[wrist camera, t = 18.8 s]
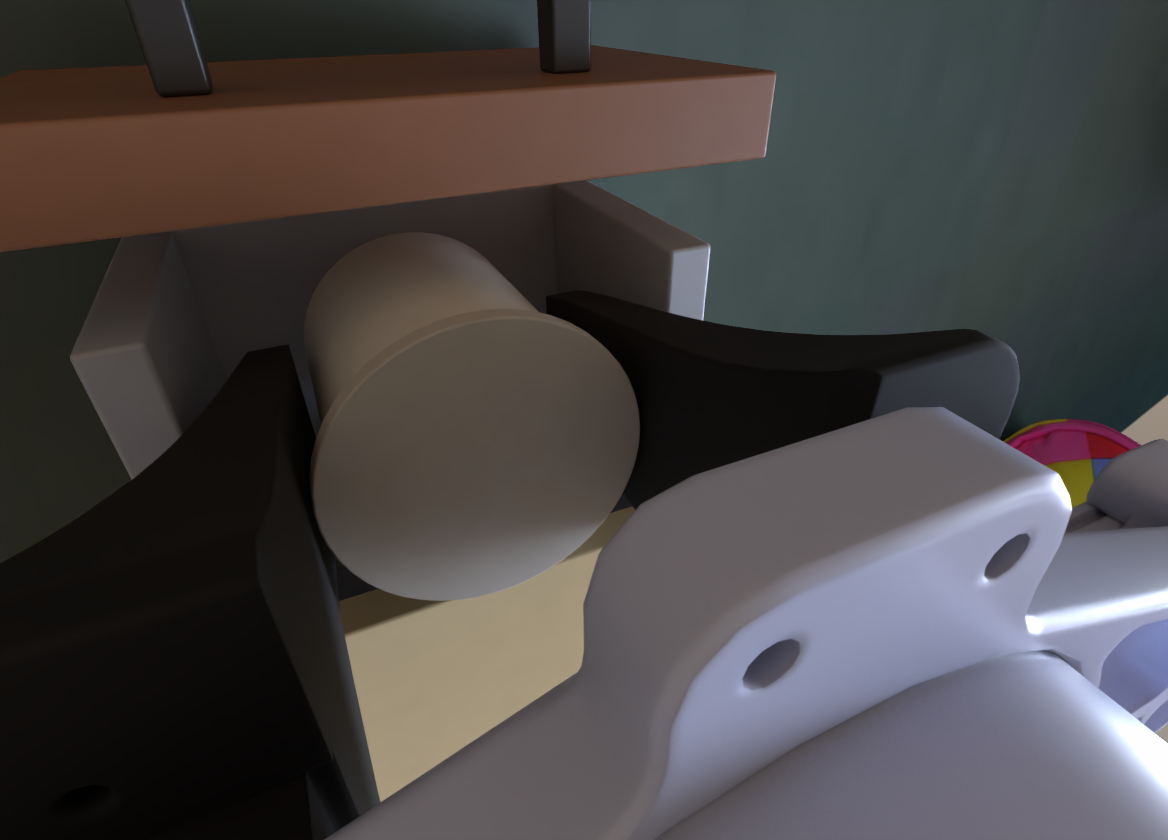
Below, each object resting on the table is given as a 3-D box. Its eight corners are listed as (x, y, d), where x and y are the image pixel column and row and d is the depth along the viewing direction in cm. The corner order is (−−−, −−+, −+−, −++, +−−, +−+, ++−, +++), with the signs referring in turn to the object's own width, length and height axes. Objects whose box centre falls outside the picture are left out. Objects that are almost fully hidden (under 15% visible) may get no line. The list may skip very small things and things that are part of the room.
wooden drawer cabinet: (151, 424, 15) (99, 720, 9) (598, 329, 19) (773, 488, 13) (299, 745, 23) (326, 1024, 16) (597, 629, 27) (708, 819, 20)
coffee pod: (289, 444, 12) (314, 629, 9) (278, 202, 10) (307, 313, 7) (512, 428, 15) (607, 572, 11) (542, 223, 12) (673, 318, 9)
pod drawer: (-187, -389, 8) (-838, -991, 3) (591, -276, 11) (853, -471, 7) (246, 593, 17) (253, 818, 13) (593, 487, 21) (700, 632, 16)
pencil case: (901, 516, 33) (1079, 653, 26) (1040, 379, 32) (1264, 485, 25) (989, 626, 47) (1120, 734, 40) (1088, 534, 46) (1240, 628, 39)
